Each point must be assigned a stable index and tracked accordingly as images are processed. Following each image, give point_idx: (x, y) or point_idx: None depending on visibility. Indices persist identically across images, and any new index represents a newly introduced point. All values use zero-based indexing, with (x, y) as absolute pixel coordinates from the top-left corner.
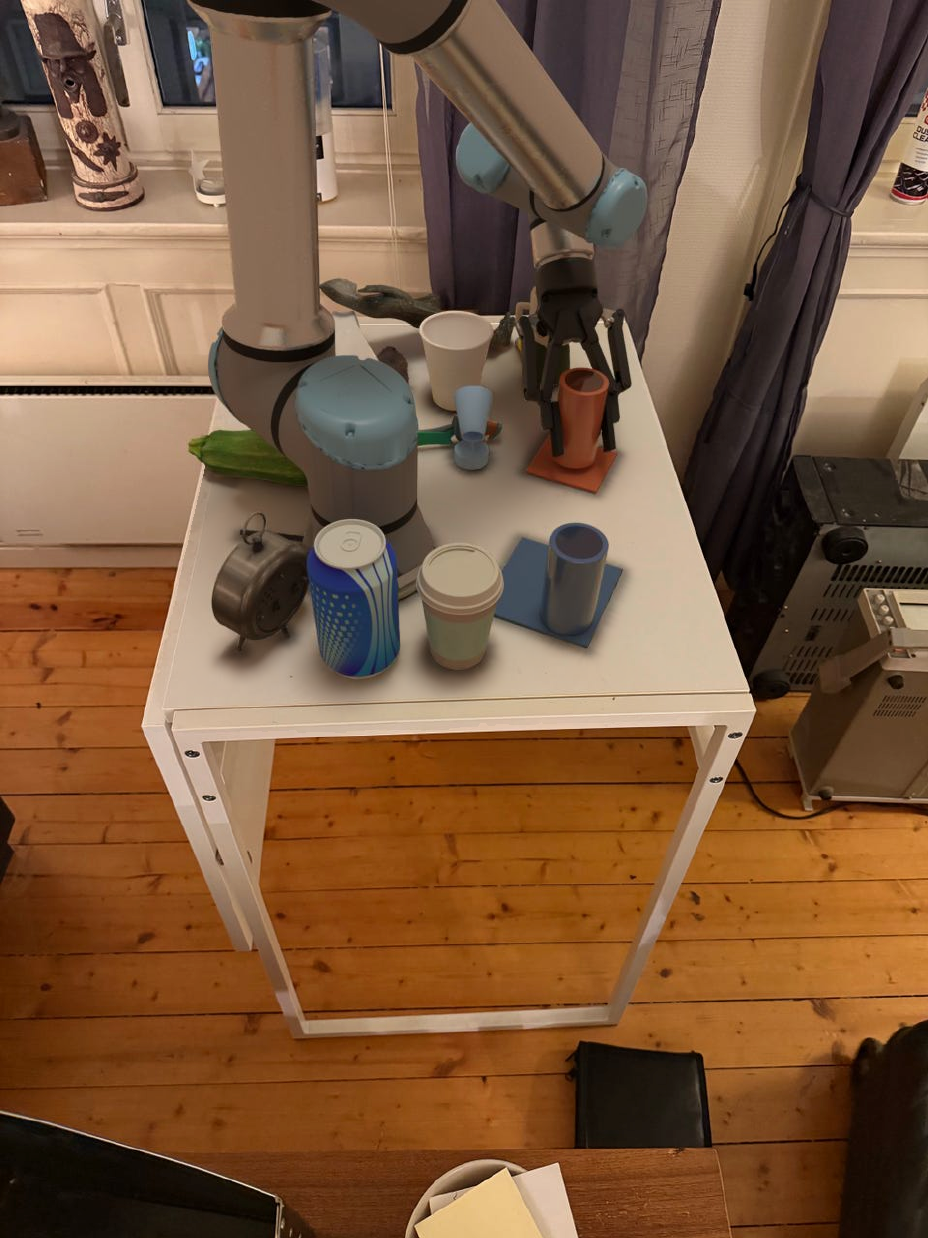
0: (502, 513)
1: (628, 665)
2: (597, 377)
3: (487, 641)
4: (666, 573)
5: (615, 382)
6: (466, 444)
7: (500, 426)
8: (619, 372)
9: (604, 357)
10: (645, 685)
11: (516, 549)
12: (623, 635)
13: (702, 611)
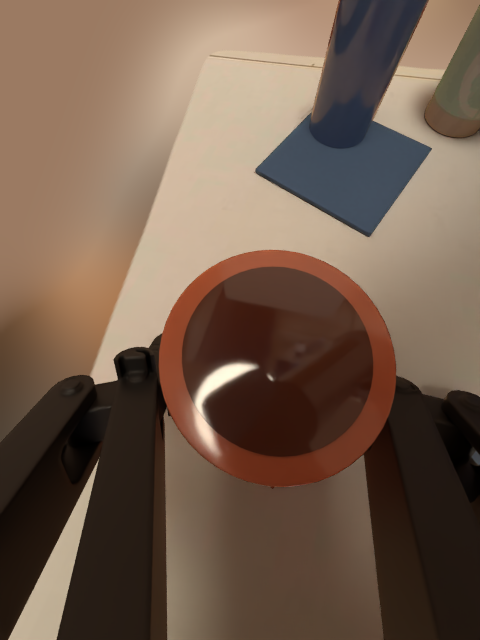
0: (391, 288)
1: (289, 85)
2: (205, 363)
3: (438, 84)
4: (205, 163)
5: (115, 396)
6: (474, 460)
7: None
8: (64, 440)
9: (90, 521)
10: (281, 69)
11: (381, 216)
12: (283, 109)
13: (193, 118)
